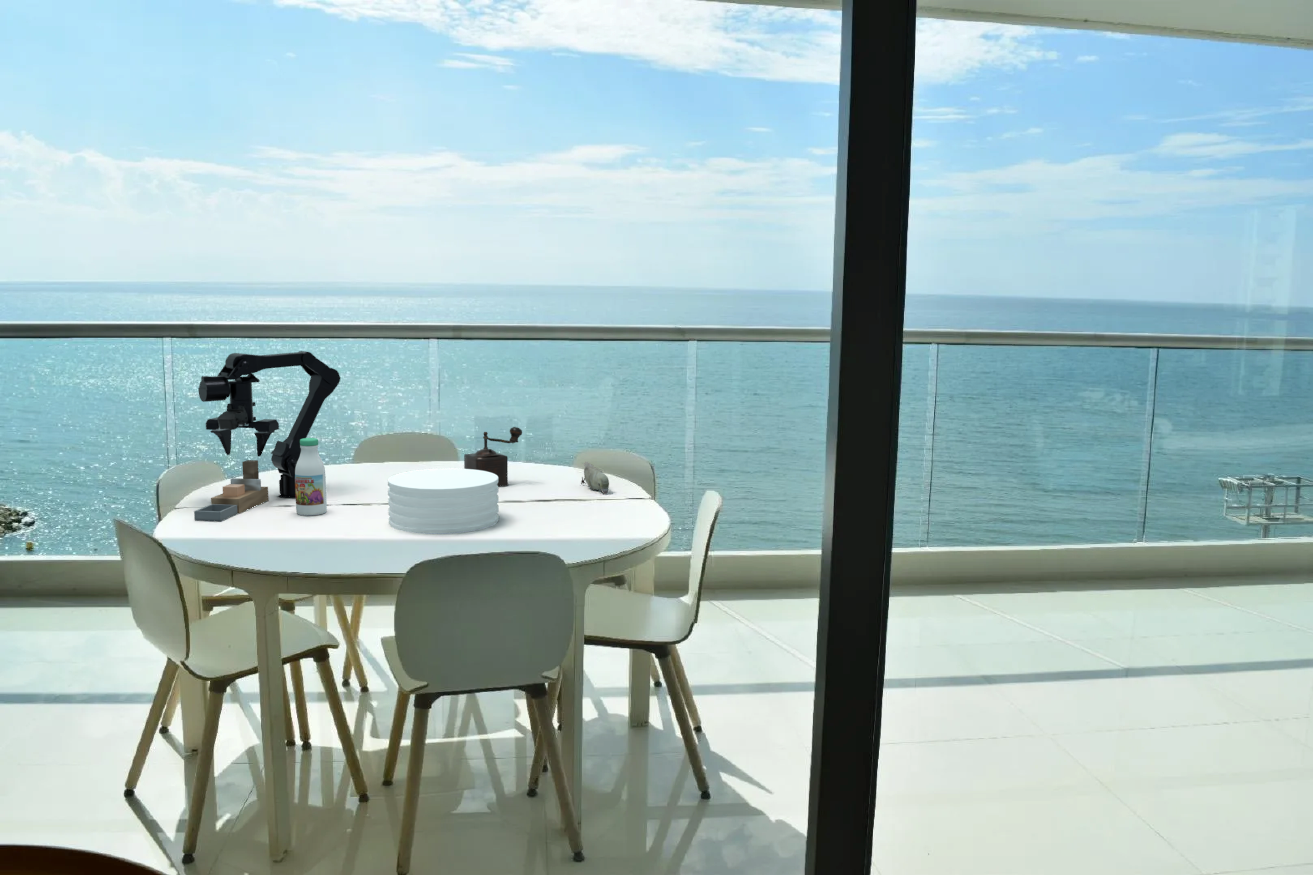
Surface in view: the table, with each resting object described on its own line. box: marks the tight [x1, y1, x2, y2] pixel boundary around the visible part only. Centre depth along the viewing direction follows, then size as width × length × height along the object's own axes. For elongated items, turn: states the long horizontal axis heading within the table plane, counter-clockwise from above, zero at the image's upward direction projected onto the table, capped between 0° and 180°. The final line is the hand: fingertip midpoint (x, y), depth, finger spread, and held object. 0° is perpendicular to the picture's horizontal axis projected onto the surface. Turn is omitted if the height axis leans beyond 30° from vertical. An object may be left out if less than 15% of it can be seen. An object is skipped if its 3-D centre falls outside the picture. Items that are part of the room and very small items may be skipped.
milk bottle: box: [295, 437, 328, 516], centre depth 263 cm, size 8×8×20 cm
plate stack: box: [387, 467, 500, 535], centre depth 258 cm, size 28×28×12 cm
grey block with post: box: [230, 459, 262, 491], centre depth 275 cm, size 8×5×8 cm, turn 85°
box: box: [193, 503, 239, 523], centre depth 258 cm, size 7×8×2 cm
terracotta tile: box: [222, 483, 245, 497], centre depth 267 cm, size 4×4×2 cm
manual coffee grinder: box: [463, 426, 523, 488], centre depth 306 cm, size 16×11×18 cm
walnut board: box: [210, 486, 270, 515], centre depth 271 cm, size 8×16×4 cm, turn 175°
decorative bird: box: [580, 461, 610, 495], centre depth 301 cm, size 5×16×7 cm, turn 25°
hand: (243, 455), depth 274 cm, fingers open, 9 cm apart
